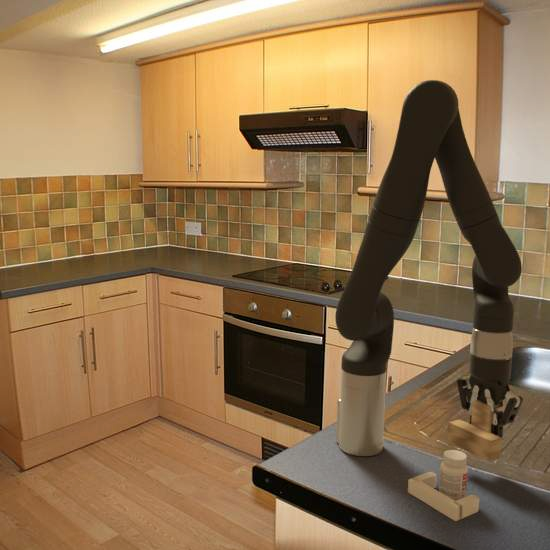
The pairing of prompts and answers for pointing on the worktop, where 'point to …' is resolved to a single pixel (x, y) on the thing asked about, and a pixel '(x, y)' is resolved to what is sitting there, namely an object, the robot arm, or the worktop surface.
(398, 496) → the worktop surface
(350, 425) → the robot arm
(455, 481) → the pill bottle
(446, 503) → the bay
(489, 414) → the scraper
